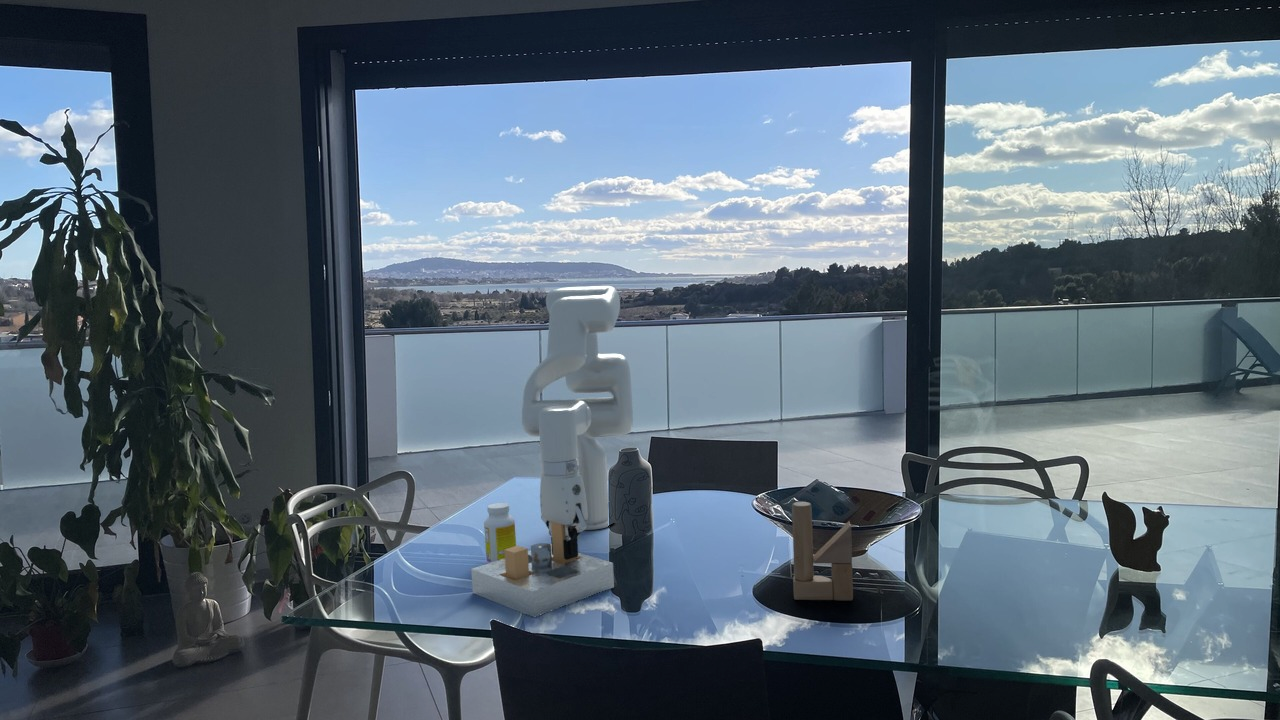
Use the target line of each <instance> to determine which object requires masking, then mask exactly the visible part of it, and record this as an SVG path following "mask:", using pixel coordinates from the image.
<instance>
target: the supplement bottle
mask: <svg viewBox="0 0 1280 720" xmlns="http://www.w3.org/2000/svg"><path fill="white" fill-rule="evenodd" d="M509 511H510V504H509V503H507V502H505V503H504V502H497V503H496V502H495V503H492V504H491V503H490V504H488V505H487V513H488V516H487V517H486V518H485V519H484V522H483V527H484V528H483V529H484V543H485V552H486V553H485V555H486V558H485V559H486V564H488V563H491V562H495V561H498V560H501V559H504V558H505V552H504V550H505V549H508V548H511V547H514V546H517V537H516V535H517V534H516V525H515V523H516V522H515V517H513V515H511V514H509Z"/></svg>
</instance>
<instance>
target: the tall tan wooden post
mask: <svg viewBox="0 0 1280 720" xmlns="http://www.w3.org/2000/svg"><path fill="white" fill-rule="evenodd" d="M528 551H529V549H528V548H527V547H523V546H520V545H516V546H514V547H511V548H508V549H505V550H504V552H505V568H506V578H509V579H512V580H514V581H515V580H518V579H521V578H524V577H527V576H529V563H528Z"/></svg>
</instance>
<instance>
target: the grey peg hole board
mask: <svg viewBox="0 0 1280 720" xmlns="http://www.w3.org/2000/svg"><path fill="white" fill-rule="evenodd" d="M528 563H529V576H527V577H524V578H521V579H518V580H515V581H514V580H512V579H509V578H506V568H505V558H504V559H501V560H498V561H495V562H491V563H485V564H482V565H479V566H476V567H472V568H471V569H470V571H471V572H470V573H471V575H470V576H471V587H472V594H474V595H477V596H479V597H481V598H483V599H486V600H489V601H492V602H493V603H496V604H499V605H501V606H504V607H506V608H509V609H511V610H514V611H515V612H519V611H521V612H523V613H522V614H524V615H526V614H527V616H529V615H530V616H529V617H531V616H533V617H532V618H534V617H535V616H537V617H539V616H538V615H540V614H543V613H545V614H547V613H546V612H548V613H550V612H549V611H551V610H553V611H555V610H554V609H556V610H558V609H560V608H559V607H561V608H563V607H562V606H564V605H566V606H568V605H567V604H569V605H571V604H570V603H572V602H574V603H576V602H575V601H577V602H579V601H582V600H584V599H583V598H585V599H587V598H589V597H588V596H590V597H592V596H591V595H593V594H595V595H597V594H596V593H598V594H600V593H603V592H605V590H606V591H609V590H611V589H613V588H615V576H614V575H615V574H614V562H611V561H608V560H605V559H600V558H599V557H594V556H590V555H588V554H584V553H581V552H578V556H577V557H576V560H574V561H571V562H568V563H565V564H562V563H559V562H555V561H554V558H553V555H552V543H547V542H542V543H535V544H532V545H530V550H528ZM602 591H603V592H602ZM599 592H600V593H599ZM593 596H594V595H593ZM586 597H587V598H586ZM581 599H582V600H581ZM578 600H579V601H578ZM572 604H573V603H572ZM564 607H565V606H564ZM557 608H558V609H557ZM521 612H520V613H521ZM551 612H552V611H551ZM543 615H544V614H543ZM540 616H541V615H540ZM535 618H536V617H535Z"/></svg>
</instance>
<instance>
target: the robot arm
mask: <svg viewBox="0 0 1280 720" xmlns="http://www.w3.org/2000/svg"><path fill="white" fill-rule="evenodd" d="M545 296H546V297H545V305H546V310H547V311H548V314H549V316H548V317H549V320H548V321H549V322H548V333H547V334H548V338H547V353H546V357H545V358H544V359H543V360H542V361H541V362H540V363H539V364H538V365H537V366H536V367H535V369H533V371H532V372H531V374H530V375H529V377H528V379H527V381H526V383H525V385H524V389H523V396H522V408H521V409H522V410H521V423H522V428H523V429H524V432H525V433H526V434H527V435H529V436H531V437H539V449H540V464H541V465H540V469H541V475H540V483H539V484H540V485H539V501H540V502H539V506H540V514H541V515H540V520H542V522H543V523H544V524H545V526H546V527H547V529H548V535H549V536H550V539H551V543H550V544H551V545H552V555H553V544H552V530H551V521H552V522H556V523H559V524H562V525H564V533H565V539H566V540H563V542H564V558H565V559H566V560H568V559H571V558H574V557H577V556H578V553H579V549H578V547H579V546H578V545H579V544H578V538H580V534H581V533H582V532H583V531H594V530H600V529H605V528H608V502H609V488H608V485H609V484H608V483H609V482H608V468H607V467H608V465H607V454H606V451H605V449H604V447H603V445H602V444H601V443H600V442H599V441H598V440H597V439H596V437H598V438H599V437H612V436H613V437H614V436H615V437H616V436H624V435H628V434H630V432H631V431H632V428H633V425H634V412H633V411H634V409H633V398H632V397H633V395H632V377H631V370H630V369H631V368H630V364H629V362H628V358H627V357H626V356H624V355H623V354H621V353H600V351H599V345H598V343H599V342H598V333H599V334H602V333H611V332H612V330H614V328H615V326H616V324H617V320H618V318H619V314H620V310H621V298H620V294H619V292H618V291H617V289H616V288H615V286H611V285H597V286H596V285H592V286H590V285H589V286H570V287H569V286H566V287H559V288H554V289H552V290H550V291H549V292H548V293H547V294H546V295H545ZM564 377H565V383H566V384H565V385H566V386H567V389H568V390H569V391H570V392H572V393H575V394H605V393H609V394H611V395H612V396H607V397H606V396H605V397H581V398H574V399H545V400H539V397H540V395H541V393H542V392H543V391H544V389H546V387H547V386H549V385H550V384H552V383H553V382H556V381H558V380H560V379H562V378H564ZM570 527H573V528H572V530H571V531H570Z"/></svg>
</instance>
